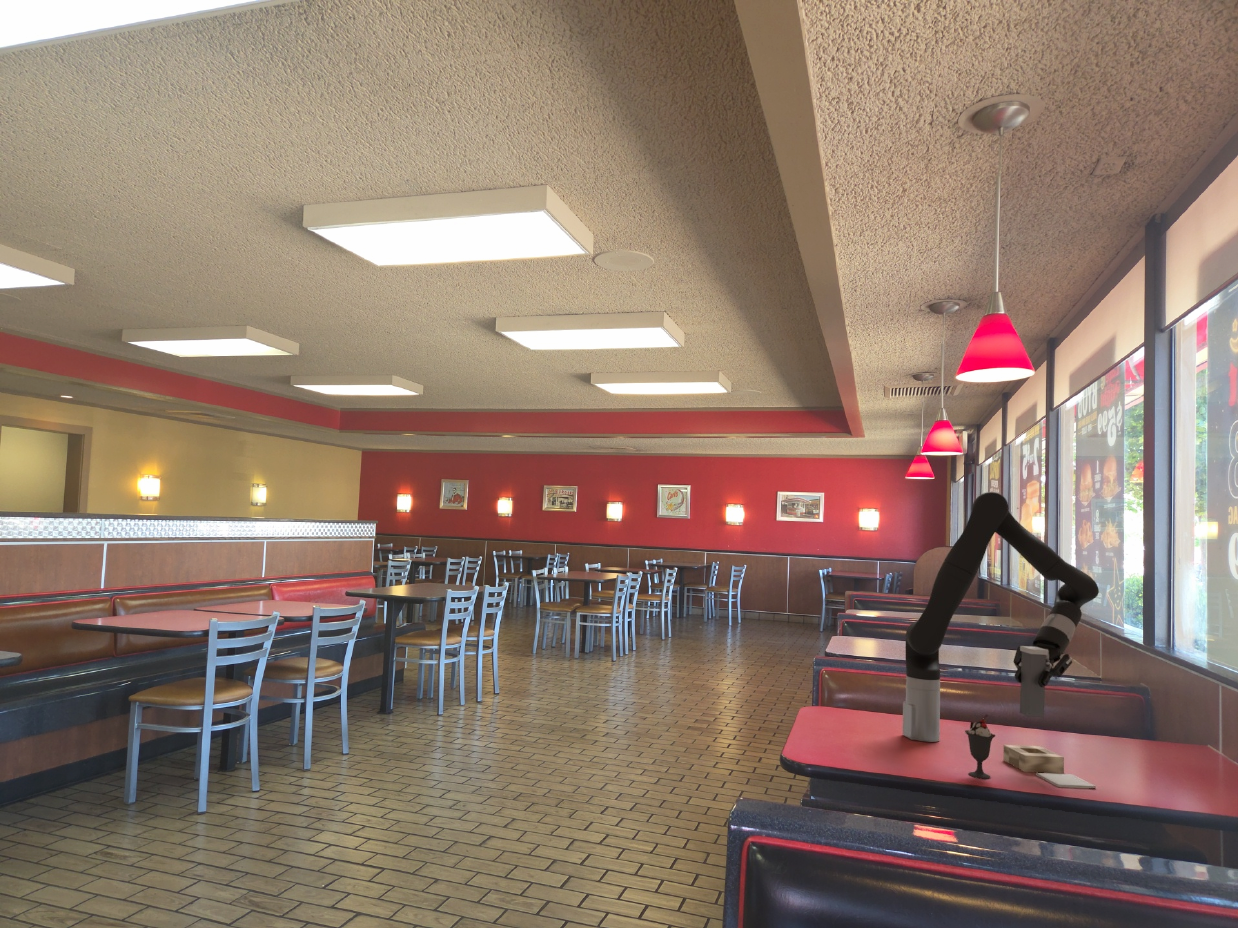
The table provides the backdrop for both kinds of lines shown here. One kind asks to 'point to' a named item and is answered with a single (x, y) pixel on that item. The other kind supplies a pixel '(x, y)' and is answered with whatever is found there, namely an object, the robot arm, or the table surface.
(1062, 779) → the mat
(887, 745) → the table surface
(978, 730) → the sundae
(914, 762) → the table surface
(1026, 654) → the plug
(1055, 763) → the square wooden socket block
